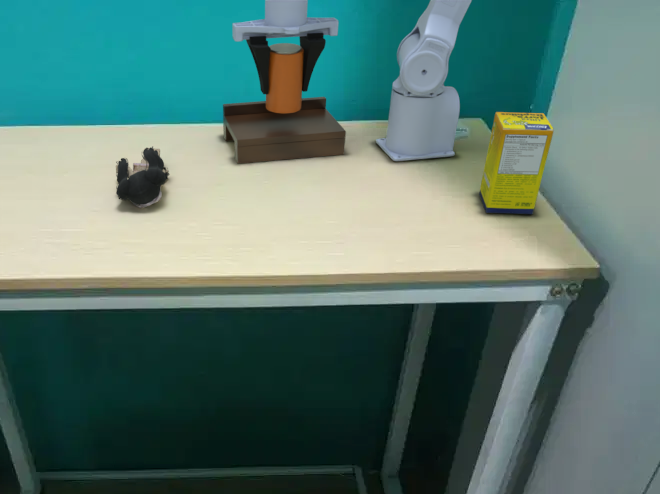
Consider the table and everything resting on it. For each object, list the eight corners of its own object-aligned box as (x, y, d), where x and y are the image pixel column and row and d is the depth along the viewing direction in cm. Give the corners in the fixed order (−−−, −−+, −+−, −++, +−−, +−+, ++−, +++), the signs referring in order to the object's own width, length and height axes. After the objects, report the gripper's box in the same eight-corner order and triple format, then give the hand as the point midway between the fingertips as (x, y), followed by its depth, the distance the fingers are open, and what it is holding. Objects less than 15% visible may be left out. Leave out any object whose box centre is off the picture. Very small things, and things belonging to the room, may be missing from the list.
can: (296, 100, 110) (298, 41, 105) (305, 112, 106) (308, 51, 101) (262, 103, 109) (262, 43, 104) (270, 114, 105) (271, 53, 100)
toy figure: (115, 170, 104) (115, 211, 92) (116, 125, 101) (115, 162, 89) (166, 173, 106) (172, 214, 93) (168, 129, 102) (174, 166, 90)
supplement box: (523, 195, 97) (544, 111, 90) (533, 215, 92) (555, 129, 85) (477, 193, 97) (494, 110, 90) (484, 213, 92) (503, 127, 86)
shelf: (322, 128, 116) (324, 96, 113) (344, 154, 108) (346, 120, 105) (223, 136, 114) (222, 103, 111) (237, 163, 105) (237, 129, 102)
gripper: (239, -6, 93) (240, 103, 102) (348, -11, 95) (340, 96, 104) (228, -17, 99) (230, 87, 107) (332, -21, 101) (325, 81, 109)
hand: (283, 90), depth 106 cm, fingers closed on can, 5 cm apart
